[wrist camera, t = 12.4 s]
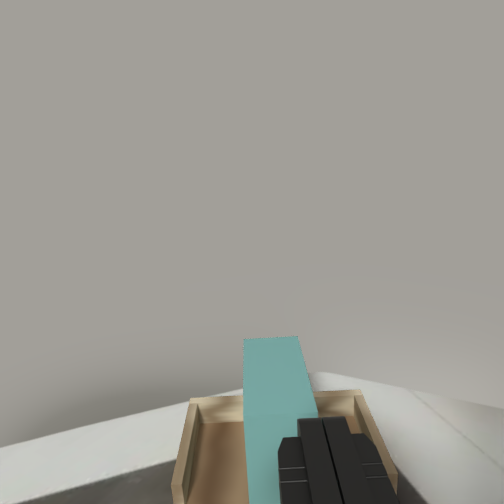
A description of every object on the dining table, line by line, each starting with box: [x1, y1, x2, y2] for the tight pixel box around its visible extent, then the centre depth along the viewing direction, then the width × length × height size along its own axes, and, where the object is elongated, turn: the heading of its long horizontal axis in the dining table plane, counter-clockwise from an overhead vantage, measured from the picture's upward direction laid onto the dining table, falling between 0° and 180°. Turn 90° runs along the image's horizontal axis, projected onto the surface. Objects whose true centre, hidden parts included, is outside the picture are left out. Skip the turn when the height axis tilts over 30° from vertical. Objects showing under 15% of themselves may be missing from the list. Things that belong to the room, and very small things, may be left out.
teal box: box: [243, 336, 318, 504], centre depth 37 cm, size 6×12×12 cm, turn 1°
